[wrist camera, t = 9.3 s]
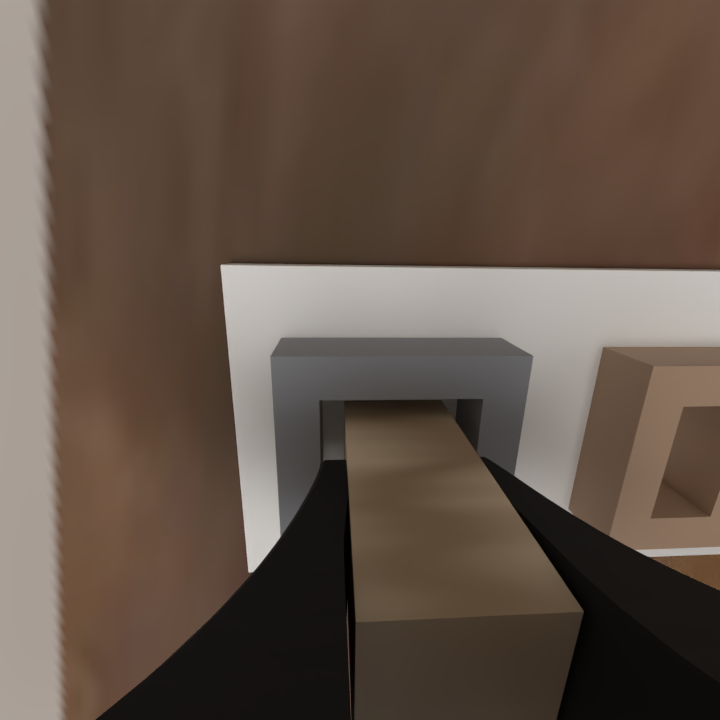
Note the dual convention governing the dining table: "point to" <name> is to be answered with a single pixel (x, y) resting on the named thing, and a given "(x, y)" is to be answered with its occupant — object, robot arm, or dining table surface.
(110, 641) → the dining table surface
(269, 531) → the socket board
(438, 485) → the beech peg
